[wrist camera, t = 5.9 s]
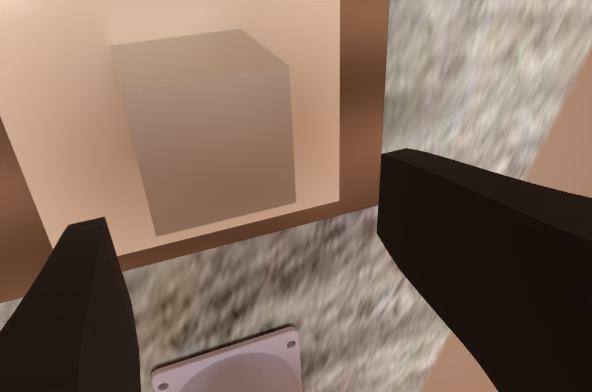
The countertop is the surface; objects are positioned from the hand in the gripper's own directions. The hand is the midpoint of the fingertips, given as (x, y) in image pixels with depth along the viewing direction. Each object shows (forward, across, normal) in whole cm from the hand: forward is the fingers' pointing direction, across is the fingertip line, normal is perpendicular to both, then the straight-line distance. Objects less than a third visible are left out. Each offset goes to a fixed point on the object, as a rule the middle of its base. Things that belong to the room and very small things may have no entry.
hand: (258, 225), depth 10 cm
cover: (+9, 0, 0) cm, 9 cm away
